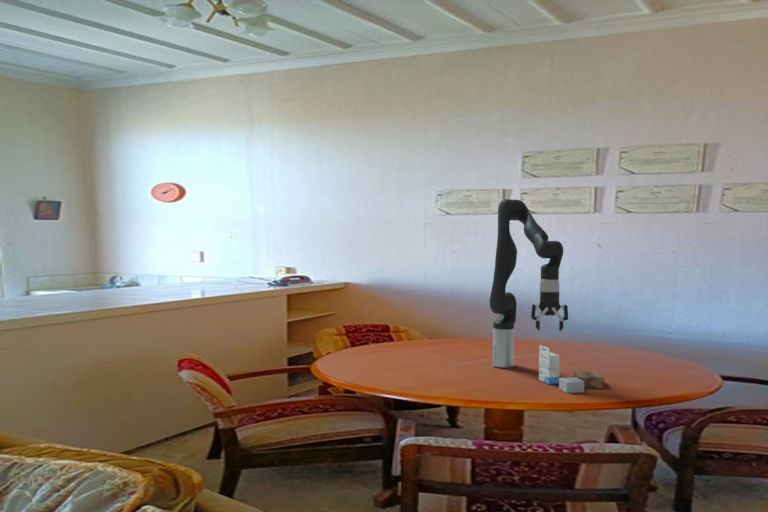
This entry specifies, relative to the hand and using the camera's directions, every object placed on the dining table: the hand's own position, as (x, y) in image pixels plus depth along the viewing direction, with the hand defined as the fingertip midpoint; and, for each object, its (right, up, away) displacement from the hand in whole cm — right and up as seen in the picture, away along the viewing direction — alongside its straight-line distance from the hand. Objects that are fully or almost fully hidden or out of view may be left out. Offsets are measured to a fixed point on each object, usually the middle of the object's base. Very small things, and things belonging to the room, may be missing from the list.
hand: (549, 330), depth 246 cm
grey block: (+5, -22, -12) cm, 25 cm away
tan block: (+15, -21, -3) cm, 26 cm away
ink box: (0, -21, +1) cm, 21 cm away
